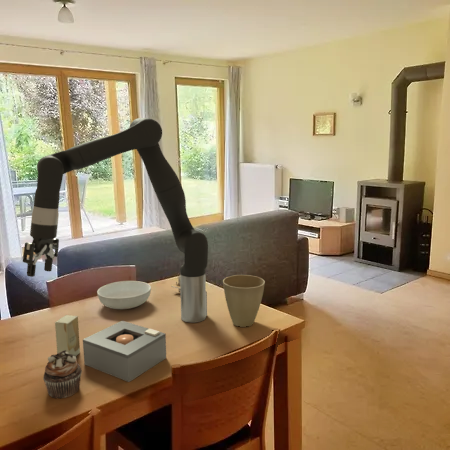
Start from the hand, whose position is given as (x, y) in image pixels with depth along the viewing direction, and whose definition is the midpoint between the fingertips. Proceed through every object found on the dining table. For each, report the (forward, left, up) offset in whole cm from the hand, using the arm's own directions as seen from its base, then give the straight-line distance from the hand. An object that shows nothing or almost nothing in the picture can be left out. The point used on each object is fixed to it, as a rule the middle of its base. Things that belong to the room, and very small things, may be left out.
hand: (39, 273), depth 137 cm
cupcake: (+13, +25, -25) cm, 37 cm away
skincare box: (0, +11, -25) cm, 27 cm away
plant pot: (-50, +44, -25) cm, 71 cm away
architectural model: (-63, +6, -26) cm, 69 cm away
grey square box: (-7, +28, -25) cm, 38 cm away
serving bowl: (-40, -5, -25) cm, 48 cm away
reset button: (-7, +28, -21) cm, 36 cm away
